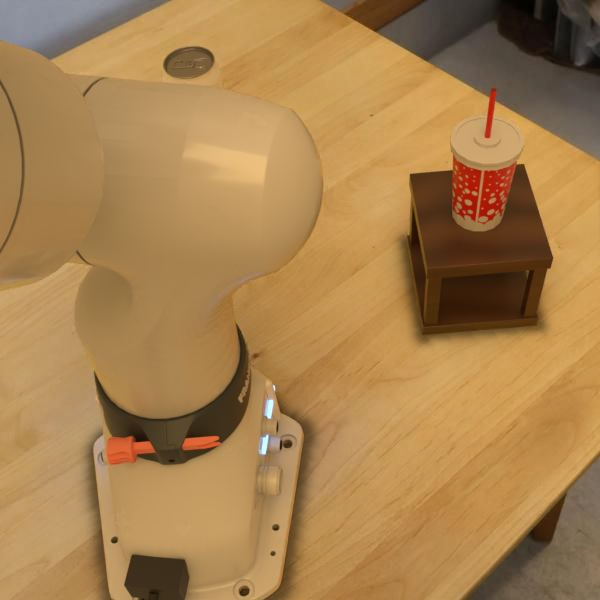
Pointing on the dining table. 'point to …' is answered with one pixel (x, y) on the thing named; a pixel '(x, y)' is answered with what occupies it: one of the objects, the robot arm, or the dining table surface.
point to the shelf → (475, 259)
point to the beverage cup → (483, 167)
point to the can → (192, 67)
